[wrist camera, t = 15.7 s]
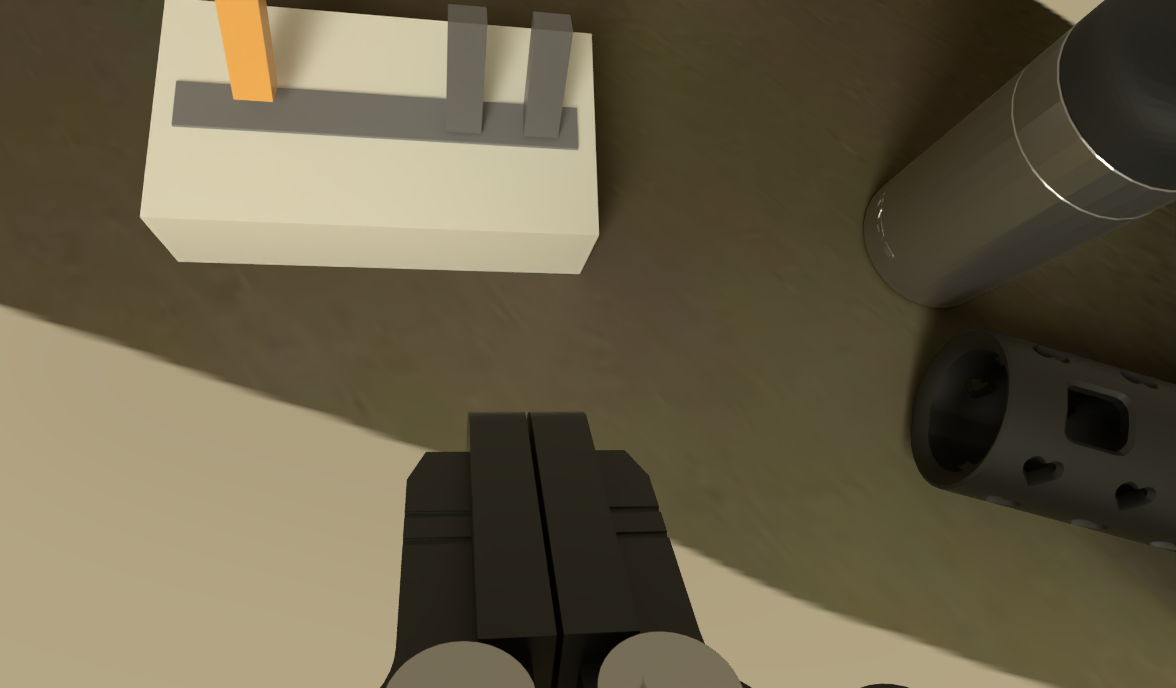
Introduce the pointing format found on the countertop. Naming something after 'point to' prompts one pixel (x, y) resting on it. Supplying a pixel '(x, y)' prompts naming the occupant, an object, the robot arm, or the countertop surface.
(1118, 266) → the countertop surface
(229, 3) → the lever
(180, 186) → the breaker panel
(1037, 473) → the muzzle brake
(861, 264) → the countertop surface
